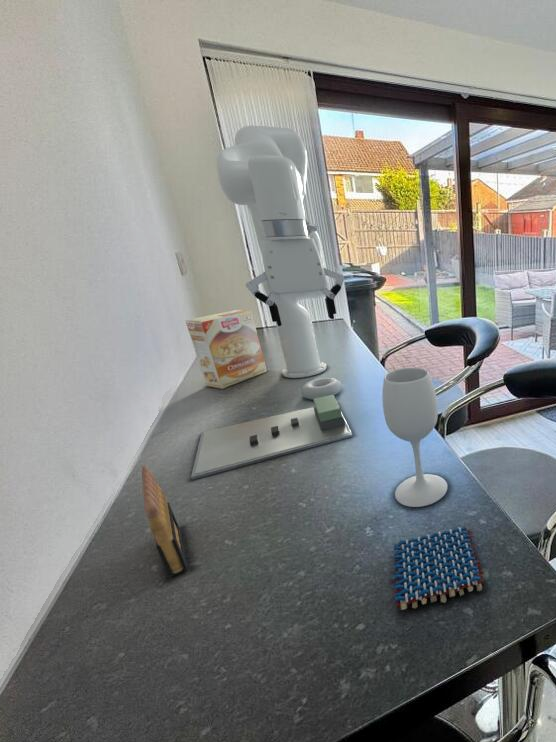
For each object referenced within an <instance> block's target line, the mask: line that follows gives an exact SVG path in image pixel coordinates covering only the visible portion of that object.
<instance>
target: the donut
mask: <svg viewBox="0 0 556 742" xmlns="http://www.w3.org/2000/svg"><path fill="white" fill-rule="evenodd" d="M300 390H301V391H300V393H301V395H302V397H304V398H305V399H307V400H313V399H315V398H320V397H324V396H329V395H334V396H336V395H338V394H339V393H340V392H341V390H342V383H341V381H340V380H338V379H337V378H334V377H320V378H316V379H315V378H314V379H312V380H309V381H308V382H305V383H304V384H303V385H302V386H301V389H300Z"/></svg>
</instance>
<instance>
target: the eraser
mask: <svg viewBox="0 0 556 742" xmlns="http://www.w3.org/2000/svg"><path fill="white" fill-rule="evenodd" d="M312 400H313V403H314V405H313V407H314V406H315V407H314V411H315V415H316V418H317V421H318V423H319V426H320V429H321V431H322V430H326V429H330V428H334V427H338V426H342V425H345V421H344V418H345V416H344V414H343V412H342V409H341V407H340V405H339V403H338V401H337V399H336V398H335V395H329V396H324V397H320V398H315V399H312ZM341 412H342V413H341ZM342 414H343V415H342ZM343 416H344V417H343Z"/></svg>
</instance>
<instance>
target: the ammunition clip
mask: <svg viewBox="0 0 556 742" xmlns="http://www.w3.org/2000/svg"><path fill="white" fill-rule="evenodd" d="M141 481H142V492H143V505H144V506H143V507H144V511H145V514H146V516H147V520H148V522H149V527H150V532H151V533H152V536H153V538H154V540H155V544H156V545H155V546H156V549H157V552H158V553H159V556H160V559H161V560H162V563H163V565H164V567H165V569H166V571H167V574H168V576H169V578H173V577H175V576H177V575H179V574H181V573H183V572H186V571H188V570H189V569H188V563H187V559H186V553H185V548H184V547H185V546H184V544H183V537H182V532H181V529H180V526H179V523H178V521H177V519H176V517H175V514H174V512H173V508H172V506H171V505H170V504H171V503H170V502H168V501H167V498H166V497H165V494H164V492H163V489H162V488H161V487H160V486H159V483H158V482H157V481H156V478H155V476H154V475H153V473H152V471H151V470H150V469H148V467H146V466H145V465H143V466H142V468H141Z"/></svg>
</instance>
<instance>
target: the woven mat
mask: <svg viewBox="0 0 556 742" xmlns="http://www.w3.org/2000/svg"><path fill="white" fill-rule="evenodd" d="M472 540H473V539H472V535H471V534H470V529H467V527H466V526H463V527H459V526H458V527H457V528H456V527H455V528H453V529H451V528H450V529H449V530H444V529H442V532H441V531H438V532H433V534H431V535H430V534H427V535H425V534H424V535H422V536H421V537H420V536H417V537H412V538H410V539H409V540H408V539H405V540H404V539H402V540H400V541H399V542H397V543H394V545H393V551H395V552H394V554H393V559H394V565H393V566H394V569H395V571H394V579H395V583H394V584H395V586H394V589H395V601H396V603H395V607H396V608H399V609H400V611H403V610H407V609H408V607H409V605H410V604H411V608H412V609H415V610H416V609H417V608H418V607H419V605H418V604H419V603H418V601H421V605H426V604H427V602H428V599H427V598H430V603H435V602H437V600H438V599H437V596H439V599H440V603H444V604H445V603H447V600H448V599H447V595H449V598H451V597H452V598H453V597H455V596H456V594H457V593H458V594H459V596H460V597H462V596H463V595H465V592H464V589H467V592H469V593H470V592H473V590H474V586H475V588H476V591H477V592H481V591H482V590H483V586H482V584H484V583H485V580H484V578H483V570H482V569H479V568H480V564H479V563H480V561H479V560H478V559H477V554H476V550H475V545H474V544H473V543H472V542H473V541H472ZM397 569H398V570H397ZM399 601H400V602H399Z"/></svg>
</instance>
